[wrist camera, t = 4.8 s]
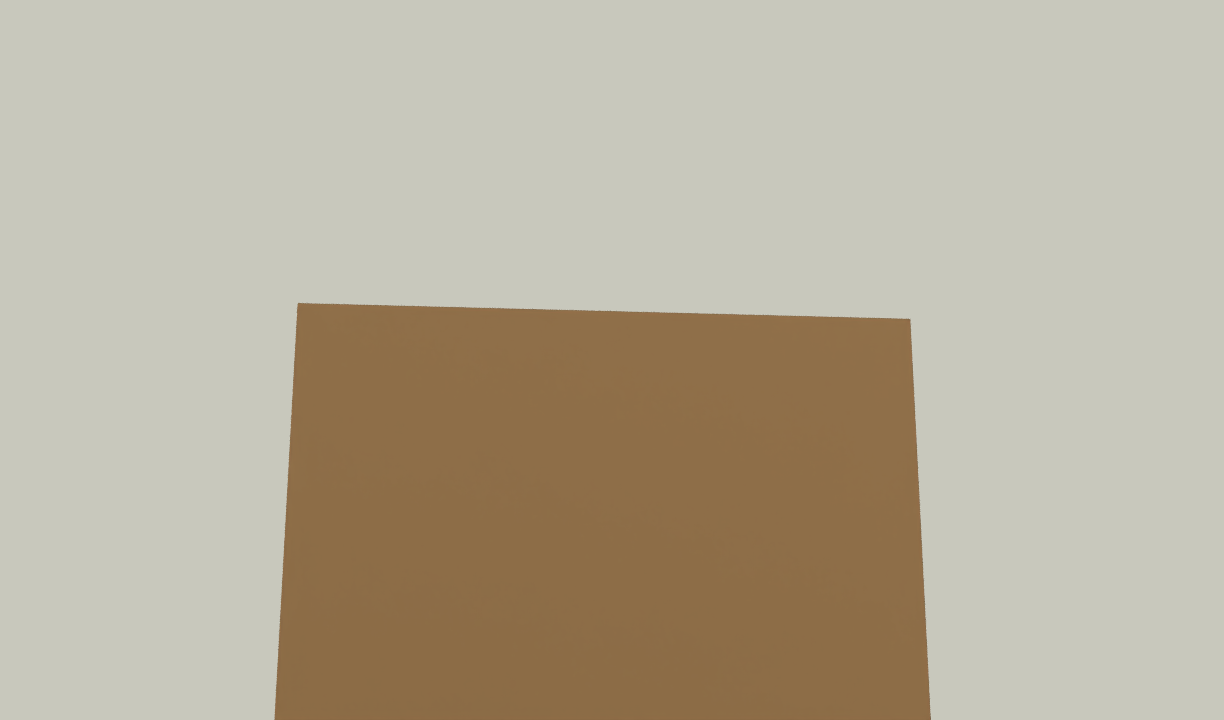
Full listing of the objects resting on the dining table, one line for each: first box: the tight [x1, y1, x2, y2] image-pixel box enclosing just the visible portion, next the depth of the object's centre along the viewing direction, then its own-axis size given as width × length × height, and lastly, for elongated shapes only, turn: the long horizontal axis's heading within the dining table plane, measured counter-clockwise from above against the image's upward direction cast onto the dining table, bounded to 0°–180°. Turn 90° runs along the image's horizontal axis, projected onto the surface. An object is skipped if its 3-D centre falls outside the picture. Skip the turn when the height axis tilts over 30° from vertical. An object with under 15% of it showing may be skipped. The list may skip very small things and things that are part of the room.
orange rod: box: [275, 303, 931, 720], centre depth 19 cm, size 4×22×5 cm, turn 6°
